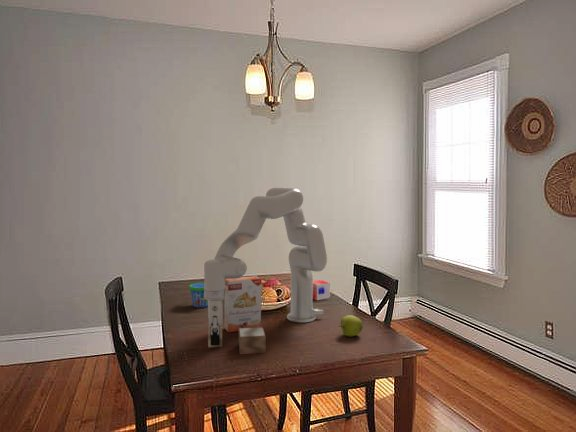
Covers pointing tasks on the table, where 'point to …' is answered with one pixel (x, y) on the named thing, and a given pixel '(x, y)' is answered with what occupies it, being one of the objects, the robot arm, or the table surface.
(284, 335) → the table surface
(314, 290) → the red and white cube
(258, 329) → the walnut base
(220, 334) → the beech block
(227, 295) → the cracker box
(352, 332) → the apple
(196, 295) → the snack cup
